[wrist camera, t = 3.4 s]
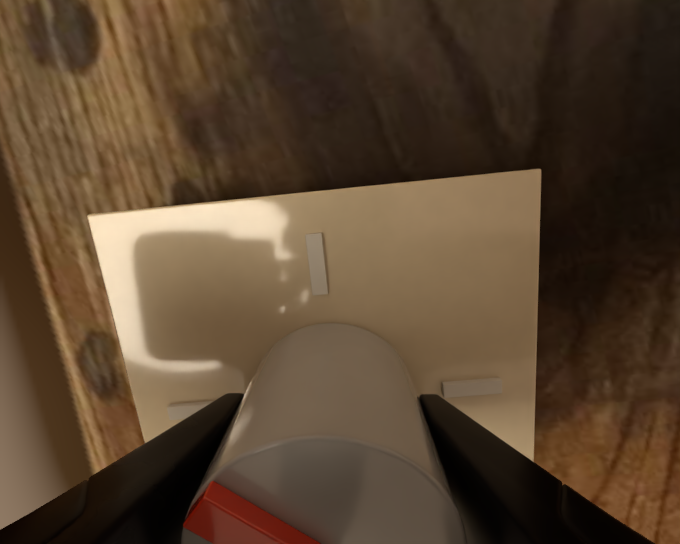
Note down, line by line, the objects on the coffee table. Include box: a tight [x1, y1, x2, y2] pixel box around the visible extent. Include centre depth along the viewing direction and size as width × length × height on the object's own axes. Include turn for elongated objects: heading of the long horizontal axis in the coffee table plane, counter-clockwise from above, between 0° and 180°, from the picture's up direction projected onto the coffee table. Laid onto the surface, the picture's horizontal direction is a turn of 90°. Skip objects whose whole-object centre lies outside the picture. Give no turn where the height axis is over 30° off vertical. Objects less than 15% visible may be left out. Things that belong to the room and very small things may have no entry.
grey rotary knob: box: [181, 323, 467, 544], centre depth 7 cm, size 4×4×4 cm
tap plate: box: [87, 169, 541, 462], centre depth 10 cm, size 10×10×3 cm
